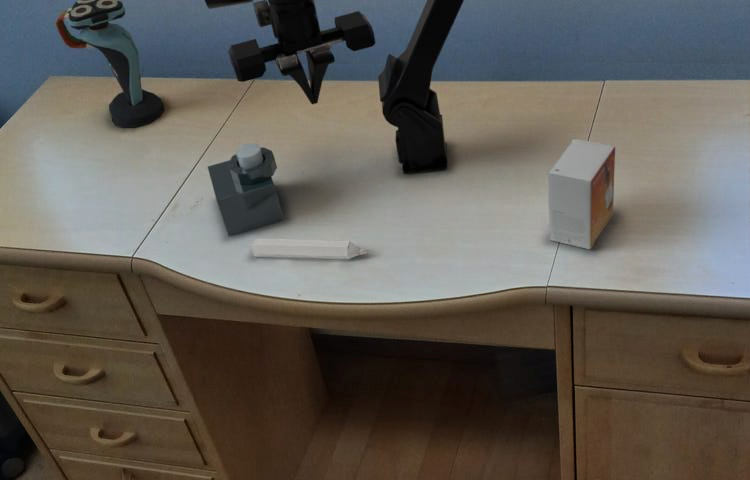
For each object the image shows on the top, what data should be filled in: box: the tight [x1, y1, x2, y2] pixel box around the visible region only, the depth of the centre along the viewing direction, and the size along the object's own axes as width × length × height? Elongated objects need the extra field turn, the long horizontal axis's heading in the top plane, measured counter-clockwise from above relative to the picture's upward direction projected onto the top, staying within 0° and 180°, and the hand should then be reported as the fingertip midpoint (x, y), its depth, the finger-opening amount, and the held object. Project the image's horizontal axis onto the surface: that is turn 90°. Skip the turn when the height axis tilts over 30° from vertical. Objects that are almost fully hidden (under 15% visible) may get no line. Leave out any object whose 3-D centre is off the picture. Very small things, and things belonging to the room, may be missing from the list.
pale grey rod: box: [251, 238, 371, 260], centre depth 122 cm, size 3×2×16 cm
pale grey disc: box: [235, 142, 264, 169], centre depth 126 cm, size 3×3×2 cm
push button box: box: [207, 146, 285, 237], centre depth 129 cm, size 9×9×8 cm
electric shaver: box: [55, 0, 166, 129], centre depth 150 cm, size 9×12×20 cm
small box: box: [547, 138, 616, 250], centre depth 115 cm, size 8×6×10 cm
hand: (313, 102), depth 127 cm, fingers closed
